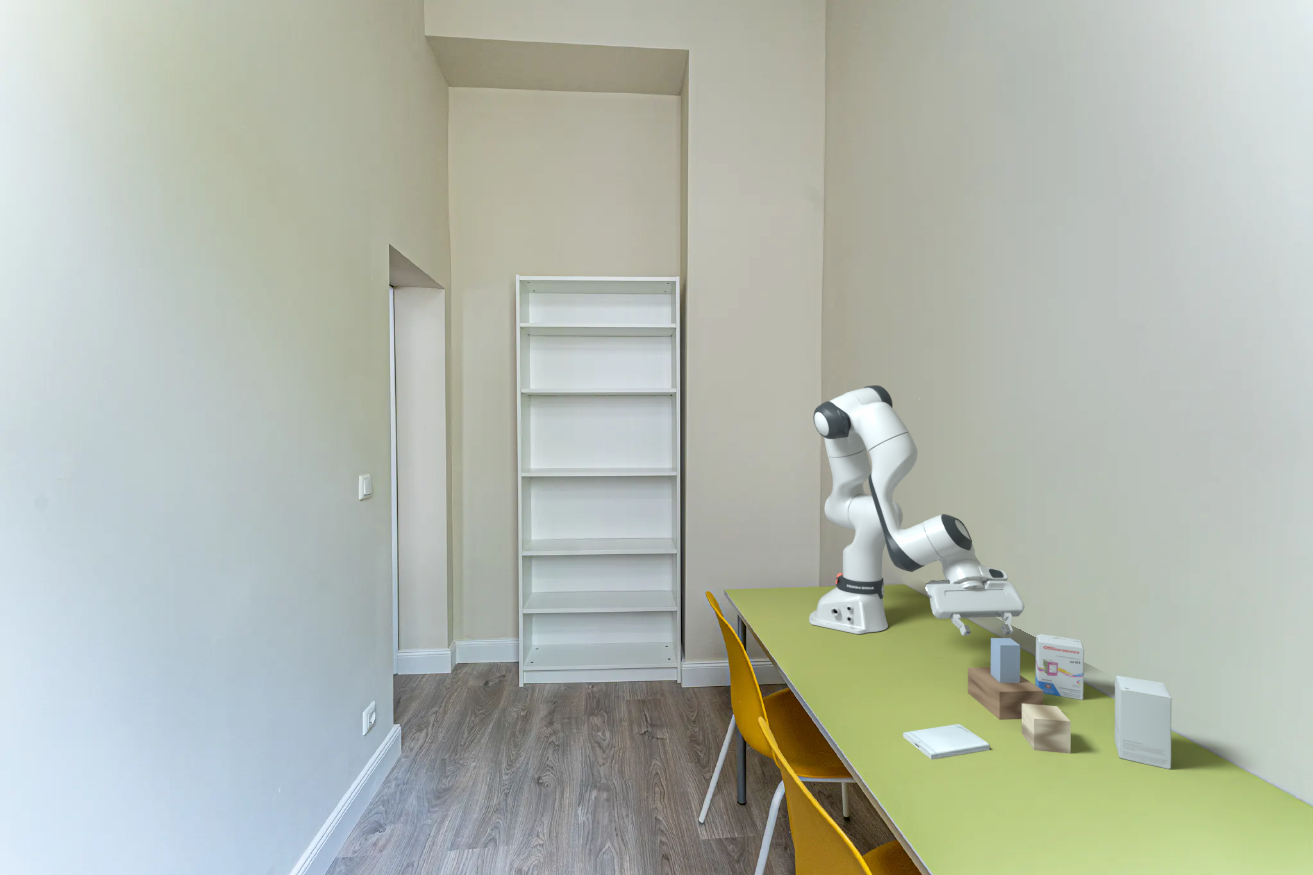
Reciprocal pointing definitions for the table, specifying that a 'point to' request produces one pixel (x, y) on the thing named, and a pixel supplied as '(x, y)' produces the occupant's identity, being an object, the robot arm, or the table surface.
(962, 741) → the hard drive
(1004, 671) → the slate post
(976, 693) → the walnut block
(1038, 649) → the ink box
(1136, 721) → the supplement box
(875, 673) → the table surface
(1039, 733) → the maple cube
